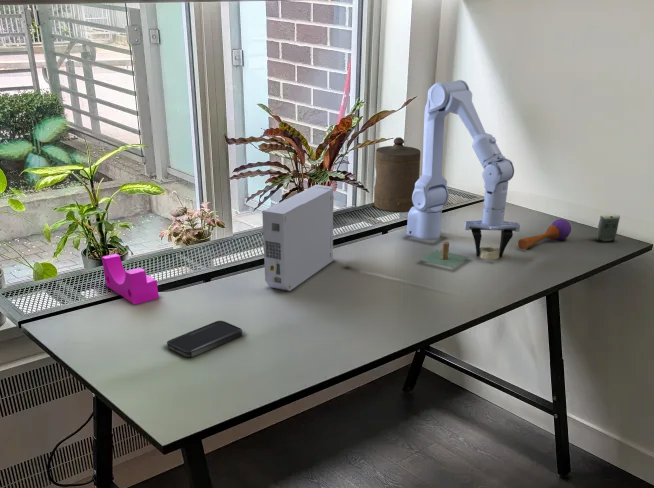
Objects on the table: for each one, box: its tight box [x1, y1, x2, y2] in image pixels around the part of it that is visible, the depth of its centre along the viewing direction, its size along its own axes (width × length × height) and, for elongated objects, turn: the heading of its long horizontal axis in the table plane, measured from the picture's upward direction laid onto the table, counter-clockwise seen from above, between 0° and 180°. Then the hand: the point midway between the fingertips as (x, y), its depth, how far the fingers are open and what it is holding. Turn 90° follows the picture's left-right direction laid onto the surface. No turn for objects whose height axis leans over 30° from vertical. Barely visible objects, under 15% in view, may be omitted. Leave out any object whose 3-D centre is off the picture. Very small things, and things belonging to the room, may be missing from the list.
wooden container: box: [373, 136, 421, 212], centre depth 241 cm, size 15×15×22 cm
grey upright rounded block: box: [596, 213, 621, 243], centre depth 215 cm, size 6×5×8 cm
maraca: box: [517, 218, 572, 251], centre depth 213 cm, size 6×6×20 cm
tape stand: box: [420, 241, 470, 269], centre depth 198 cm, size 10×10×6 cm
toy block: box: [101, 253, 160, 305], centre depth 175 cm, size 15×6×8 cm, turn 41°
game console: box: [261, 184, 334, 292], centre depth 184 cm, size 6×27×20 cm, turn 155°
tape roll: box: [479, 245, 501, 261], centre depth 201 cm, size 6×6×2 cm
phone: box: [166, 320, 243, 358], centre depth 154 cm, size 8×1×15 cm
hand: (488, 255), depth 201 cm, fingers closed on tape roll, 5 cm apart
